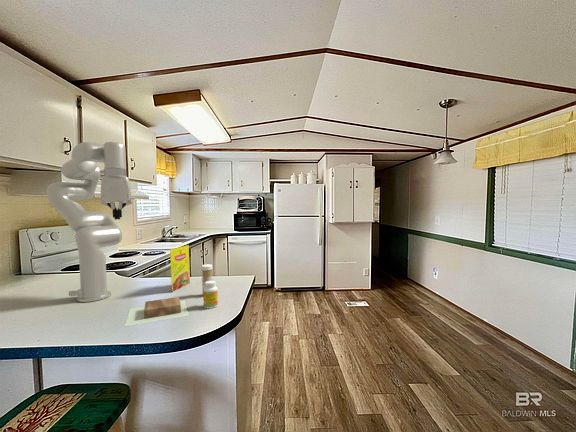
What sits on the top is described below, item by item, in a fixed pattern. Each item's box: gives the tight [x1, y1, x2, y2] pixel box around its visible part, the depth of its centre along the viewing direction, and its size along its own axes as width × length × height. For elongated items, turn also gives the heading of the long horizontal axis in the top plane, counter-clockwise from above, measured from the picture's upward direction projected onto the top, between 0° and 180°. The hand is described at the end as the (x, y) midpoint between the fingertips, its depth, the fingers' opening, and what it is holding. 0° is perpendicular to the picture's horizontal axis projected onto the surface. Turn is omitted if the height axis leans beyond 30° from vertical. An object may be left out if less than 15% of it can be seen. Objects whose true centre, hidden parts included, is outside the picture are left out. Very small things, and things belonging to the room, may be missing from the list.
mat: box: [124, 299, 189, 327], centre depth 103 cm, size 20×18×1 cm
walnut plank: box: [144, 296, 181, 319], centre depth 104 cm, size 3×10×12 cm
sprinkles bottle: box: [201, 263, 213, 297], centre depth 123 cm, size 5×5×14 cm
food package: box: [169, 244, 191, 293], centre depth 135 cm, size 15×1×20 cm, turn 168°
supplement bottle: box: [203, 280, 219, 309], centre depth 109 cm, size 5×5×10 cm
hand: (117, 219), depth 112 cm, fingers closed
